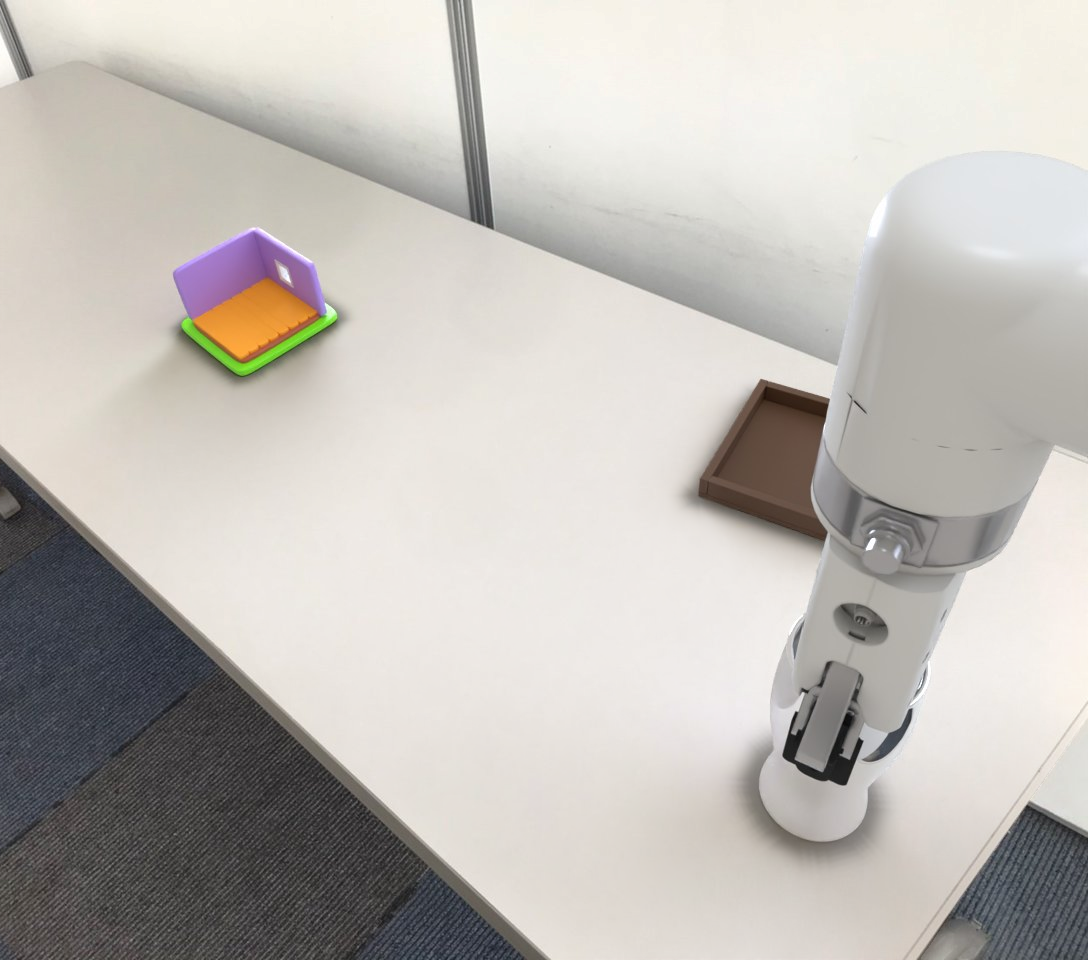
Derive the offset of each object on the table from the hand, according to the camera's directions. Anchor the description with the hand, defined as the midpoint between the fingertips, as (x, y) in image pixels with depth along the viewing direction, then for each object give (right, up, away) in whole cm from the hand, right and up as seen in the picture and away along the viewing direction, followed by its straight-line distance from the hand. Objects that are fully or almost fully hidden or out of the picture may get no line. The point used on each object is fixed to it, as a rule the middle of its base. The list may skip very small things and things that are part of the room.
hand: (840, 706), depth 51 cm
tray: (+7, +13, +24) cm, 28 cm away
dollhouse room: (-39, +27, +46) cm, 66 cm away
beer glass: (+1, -7, +8) cm, 10 cm away
